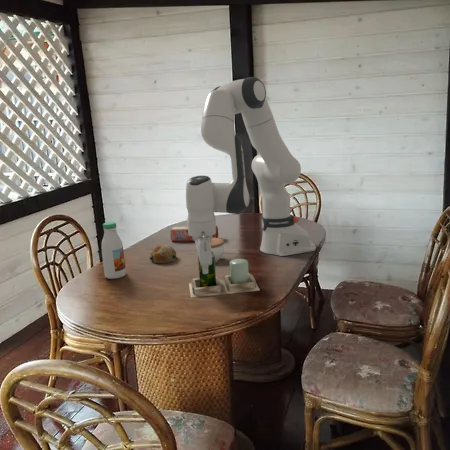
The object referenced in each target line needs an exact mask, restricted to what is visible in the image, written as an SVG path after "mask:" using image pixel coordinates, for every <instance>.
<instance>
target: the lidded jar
mask: <svg viewBox="0 0 450 450" xmlns="http://www.w3.org/2000/svg"><path fill="white" fill-rule="evenodd" d="M224 242H225V241H224V239H223V238H219V237H218V238H212V239H211V240H210V243H211V251H212V252H214V256H215V263H217V262H219V261H220V259H221V258H222V256H223V254H224V249H225V248H224ZM196 253H197V254H198V252H196Z"/></svg>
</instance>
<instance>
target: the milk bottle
mask: <svg viewBox="0 0 450 450" xmlns="http://www.w3.org/2000/svg"><path fill="white" fill-rule="evenodd" d="M102 228H103V236H102V237H103V238H102V240H101V257H102V265H103V272H104V277H105V278H106V279H108V280H109V279H111V280H112V279H113V280H115V279H116V280H117V279H121V278H124V277H125V276H126V274H127V268H126V259H125V251H124V245H123V241H122V239H121V237H120V235H119V233H118V232H117V222H115V221H107V222H104V223H103V224H102Z"/></svg>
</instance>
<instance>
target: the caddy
mask: <svg viewBox="0 0 450 450" xmlns="http://www.w3.org/2000/svg"><path fill="white" fill-rule="evenodd" d="M188 287H189V293H190V294H189V295H190V298H198V297H199V298H200V297H208V296H218V295H229V294H238V293H249V292H250V293H251V292H257V291H260V290H261V289H260V288H259V286H258V284H257V282H256V279H255V277H254V276H253V274H252V273H249V283H239V284H231V279H230V274H228V275H227V274H226V275H225V276H224V277H223V279H221V278H220V277H218V276H216V286H209V287H200V280H199V277H197V278H192V279H191V280H190V282H189V283H188Z"/></svg>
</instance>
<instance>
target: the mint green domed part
mask: <svg viewBox="0 0 450 450" xmlns="http://www.w3.org/2000/svg"><path fill="white" fill-rule="evenodd" d="M229 275H230V279H231V284H239V283H249V261H248V260H247V259H244V258H235V259H231V260H229Z"/></svg>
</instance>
